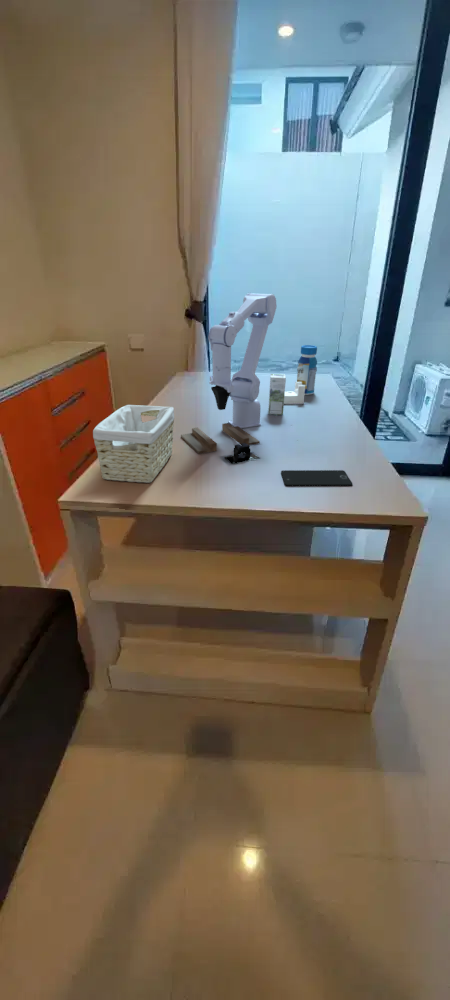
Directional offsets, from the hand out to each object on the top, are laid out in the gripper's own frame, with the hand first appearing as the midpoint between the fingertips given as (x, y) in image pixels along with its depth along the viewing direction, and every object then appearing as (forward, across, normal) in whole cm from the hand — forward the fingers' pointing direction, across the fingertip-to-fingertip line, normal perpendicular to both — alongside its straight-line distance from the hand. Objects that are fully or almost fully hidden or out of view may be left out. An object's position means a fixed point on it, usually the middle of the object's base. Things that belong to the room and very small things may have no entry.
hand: (221, 409), depth 143 cm
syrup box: (+10, -15, +30) cm, 35 cm away
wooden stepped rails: (+9, +3, -2) cm, 10 cm away
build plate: (+10, +19, -2) cm, 22 cm away
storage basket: (+10, +12, -31) cm, 35 cm away
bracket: (+10, -27, +42) cm, 51 cm away
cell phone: (+10, +40, +10) cm, 42 cm away
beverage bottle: (+10, -35, +57) cm, 68 cm away
